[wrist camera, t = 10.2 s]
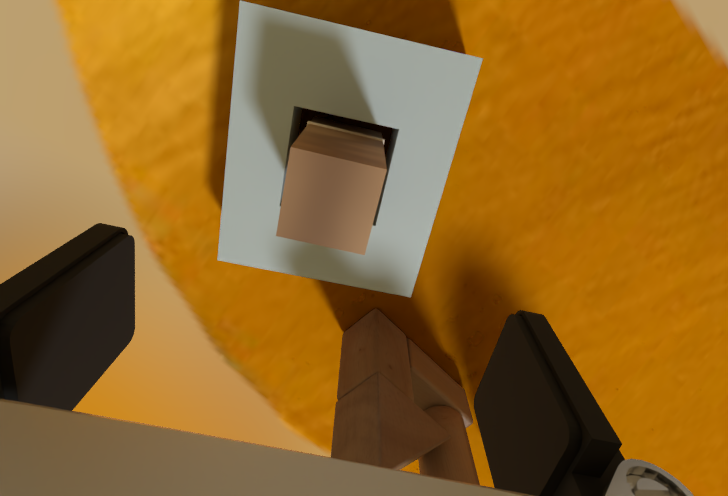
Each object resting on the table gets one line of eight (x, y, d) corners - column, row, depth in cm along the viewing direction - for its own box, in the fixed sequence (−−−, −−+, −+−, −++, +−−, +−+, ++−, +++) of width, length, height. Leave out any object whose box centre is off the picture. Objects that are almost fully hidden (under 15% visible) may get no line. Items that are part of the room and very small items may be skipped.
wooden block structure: (376, 304, 33) (382, 567, 16) (466, 388, 36) (547, 678, 19) (340, 332, 34) (312, 605, 17) (430, 411, 37) (479, 704, 20)
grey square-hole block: (466, 56, 26) (482, 58, 22) (405, 268, 31) (410, 297, 28) (258, 6, 25) (239, 0, 21) (235, 234, 30) (217, 260, 27)
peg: (382, 127, 27) (389, 168, 18) (366, 190, 29) (366, 257, 20) (316, 110, 27) (288, 144, 18) (304, 175, 29) (273, 237, 19)
